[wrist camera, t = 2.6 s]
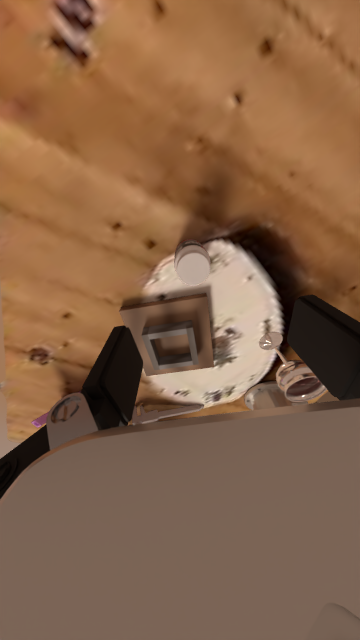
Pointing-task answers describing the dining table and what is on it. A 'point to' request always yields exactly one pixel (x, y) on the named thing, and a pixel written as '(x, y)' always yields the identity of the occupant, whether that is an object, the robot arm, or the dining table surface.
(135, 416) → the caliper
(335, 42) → the dining table surface
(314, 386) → the wineglass
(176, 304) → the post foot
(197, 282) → the pill bottle
